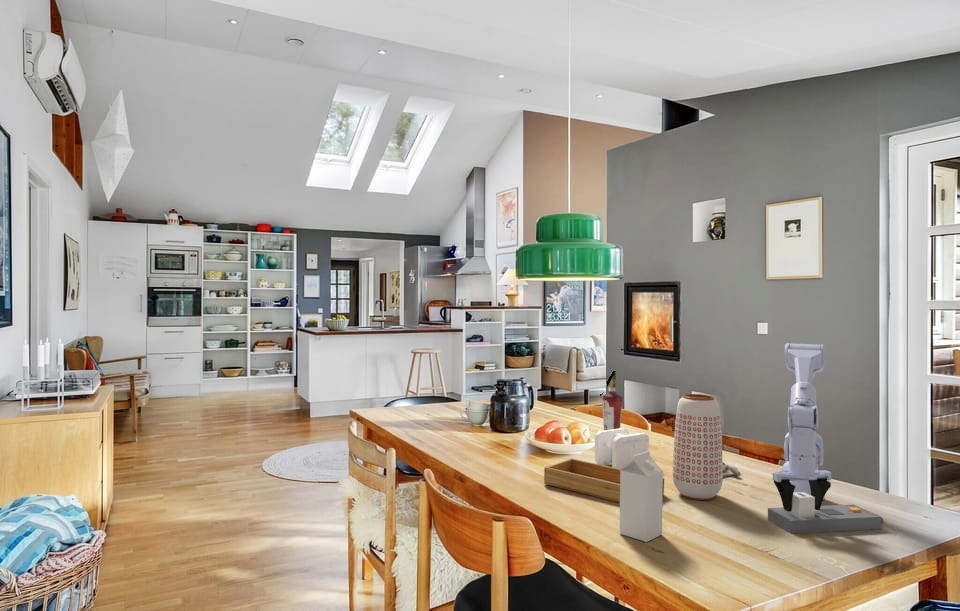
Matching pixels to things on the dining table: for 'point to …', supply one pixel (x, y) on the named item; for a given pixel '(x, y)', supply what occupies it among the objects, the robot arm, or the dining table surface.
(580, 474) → the tray
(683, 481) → the patterned ceramic vase
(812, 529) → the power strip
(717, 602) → the dining table surface
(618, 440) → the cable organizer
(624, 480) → the milk carton
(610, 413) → the liquor
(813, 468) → the robot arm
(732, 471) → the salad plate
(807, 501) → the block
